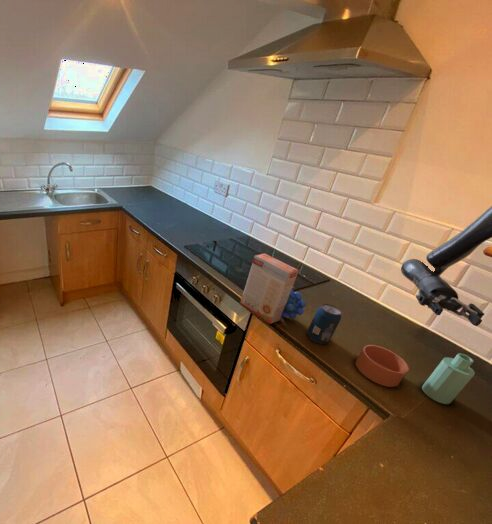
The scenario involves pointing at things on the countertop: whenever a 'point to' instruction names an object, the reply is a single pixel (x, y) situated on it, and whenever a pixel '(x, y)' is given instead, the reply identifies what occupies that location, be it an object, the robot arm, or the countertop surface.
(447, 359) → the bottle
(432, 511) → the countertop surface
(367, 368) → the terracotta bowl
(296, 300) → the grapes
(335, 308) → the soda can
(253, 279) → the cracker box
